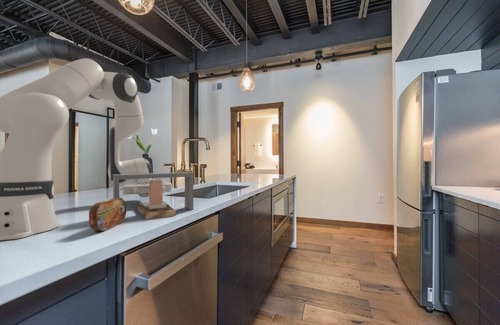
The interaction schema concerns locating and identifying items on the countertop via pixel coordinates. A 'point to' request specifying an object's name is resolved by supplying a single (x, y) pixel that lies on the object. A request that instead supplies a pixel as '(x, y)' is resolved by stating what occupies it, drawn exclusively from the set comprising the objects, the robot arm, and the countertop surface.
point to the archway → (187, 176)
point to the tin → (107, 214)
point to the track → (155, 211)
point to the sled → (155, 195)
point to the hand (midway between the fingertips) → (150, 190)
